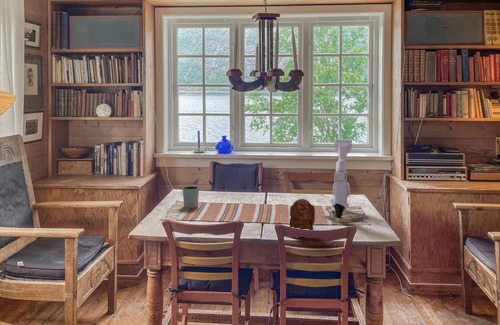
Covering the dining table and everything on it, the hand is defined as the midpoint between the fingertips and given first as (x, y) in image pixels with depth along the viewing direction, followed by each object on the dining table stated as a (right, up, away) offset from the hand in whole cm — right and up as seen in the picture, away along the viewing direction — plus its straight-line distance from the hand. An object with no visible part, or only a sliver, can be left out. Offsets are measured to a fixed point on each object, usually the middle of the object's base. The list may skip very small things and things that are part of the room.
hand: (338, 217), depth 247 cm
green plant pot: (-85, +3, +30) cm, 90 cm away
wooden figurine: (-23, -6, -26) cm, 35 cm away
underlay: (+3, -1, +6) cm, 7 cm away
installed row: (+8, -1, +7) cm, 11 cm away
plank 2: (+1, -2, +1) cm, 2 cm away
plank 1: (-2, +1, +7) cm, 8 cm away
